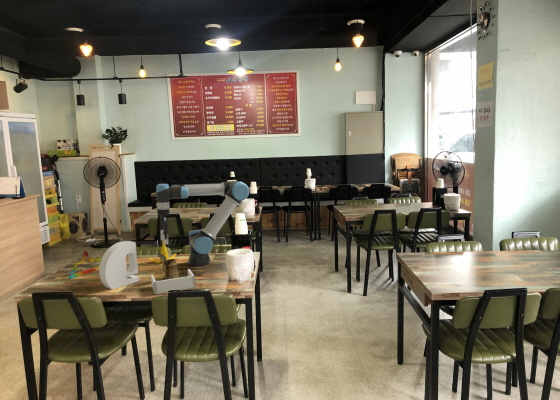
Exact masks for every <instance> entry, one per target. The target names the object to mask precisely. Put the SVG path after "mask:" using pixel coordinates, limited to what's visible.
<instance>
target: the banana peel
mask: <svg viewBox="0 0 560 400" xmlns="http://www.w3.org/2000/svg"><path fill="white" fill-rule="evenodd" d="M161 241H162V245H161V248H160V254H162V255H164V256H165V257H166V259H167V260H168V259H176V258H175V257H176V256H177V253H174V254H173V255H172V256H171V257H169V252H168V249H167V247H166V244H164V240H161ZM149 260H150V261H152V262H154V263H156V264H160V263H162V264H163V260H161V259H160V258H159V259H154V258H152V257H149Z"/></svg>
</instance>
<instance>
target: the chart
mask: <svg viewBox="0 0 560 400" xmlns="http://www.w3.org/2000/svg"><path fill="white" fill-rule="evenodd" d="M86 258H87V261H88V263H91V264H92V263H93V262H94V261H95V262H100V261H101V259H102V257H98V258H97V259H96V258H95V257H91V258H90V254H89V253H88V251H87V250H84V251H83V255H82V258H81V260H80V261H79V262H74V265H73V268H72V271H68V273H69V274H70V275H68V277H67V278H68V279H70V280H72V279H74V278H79V277H81V276H84V275H88V274H90V273H93V272H96V271H99V267H100V265H98V266H95V267H92V268H88V269H85V270H82V271H80V272H76V269H77V267H78V265H82V264H83V263H84V262H85V260H86Z"/></svg>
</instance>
